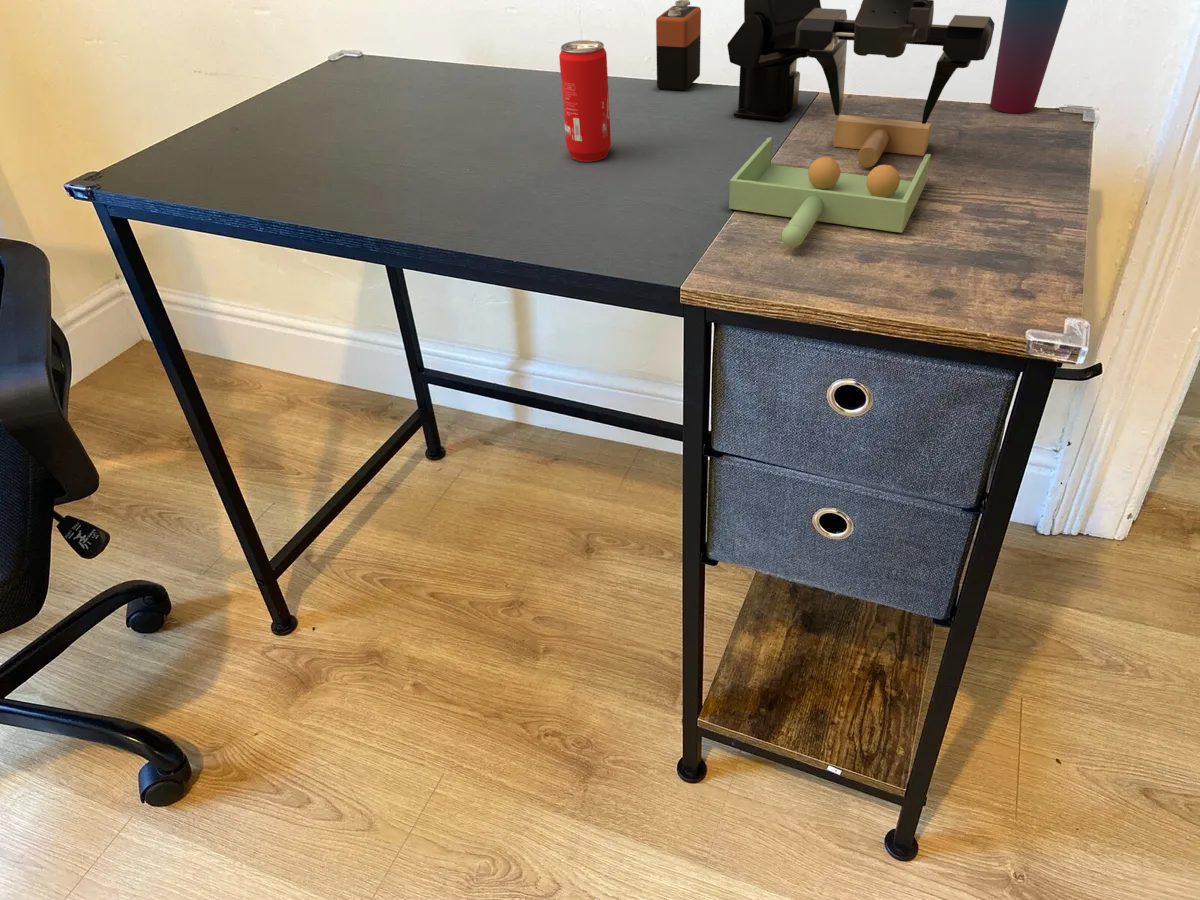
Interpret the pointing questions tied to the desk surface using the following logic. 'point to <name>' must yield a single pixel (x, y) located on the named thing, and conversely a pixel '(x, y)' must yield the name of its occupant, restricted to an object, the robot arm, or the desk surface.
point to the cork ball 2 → (883, 181)
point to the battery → (678, 46)
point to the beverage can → (585, 99)
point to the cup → (1025, 52)
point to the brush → (880, 136)
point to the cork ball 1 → (824, 173)
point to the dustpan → (820, 197)
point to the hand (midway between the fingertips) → (880, 118)
